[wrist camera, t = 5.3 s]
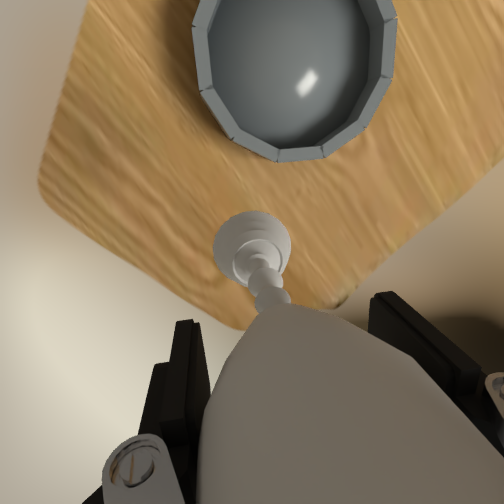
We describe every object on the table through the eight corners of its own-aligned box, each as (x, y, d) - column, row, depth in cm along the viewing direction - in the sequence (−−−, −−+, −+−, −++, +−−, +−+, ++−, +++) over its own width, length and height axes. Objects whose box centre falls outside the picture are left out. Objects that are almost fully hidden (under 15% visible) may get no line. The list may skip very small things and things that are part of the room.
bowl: (382, -57, 28) (405, -82, 25) (369, 151, 34) (387, 152, 31) (181, -54, 26) (178, -81, 23) (208, 165, 32) (208, 169, 29)
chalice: (173, 255, 19) (-60, 1054, 3) (244, 170, 18) (722, 660, 1) (259, 315, 22) (430, 927, 5) (327, 244, 20) (868, 747, 4)
